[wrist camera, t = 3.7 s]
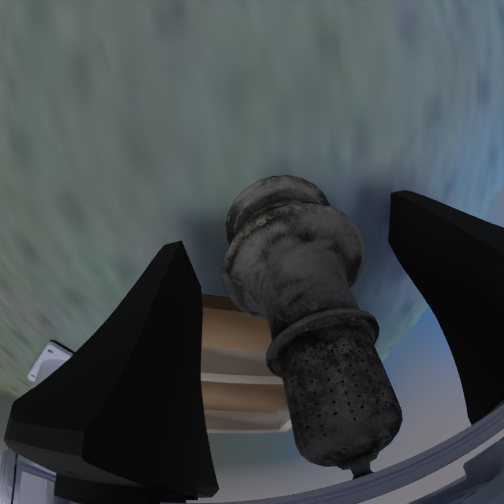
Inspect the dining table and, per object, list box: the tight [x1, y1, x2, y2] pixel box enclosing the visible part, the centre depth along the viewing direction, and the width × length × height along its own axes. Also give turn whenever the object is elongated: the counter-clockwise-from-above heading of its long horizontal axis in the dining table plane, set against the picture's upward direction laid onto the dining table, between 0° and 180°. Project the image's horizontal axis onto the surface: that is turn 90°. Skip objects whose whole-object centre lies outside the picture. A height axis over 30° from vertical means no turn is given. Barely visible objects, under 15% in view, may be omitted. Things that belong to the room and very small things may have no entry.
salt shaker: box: [222, 175, 402, 480], centre depth 9 cm, size 6×6×12 cm
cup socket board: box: [201, 295, 292, 433], centre depth 21 cm, size 18×12×3 cm, turn 164°
